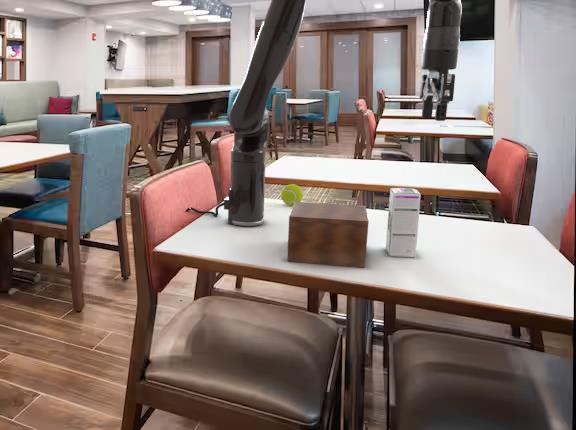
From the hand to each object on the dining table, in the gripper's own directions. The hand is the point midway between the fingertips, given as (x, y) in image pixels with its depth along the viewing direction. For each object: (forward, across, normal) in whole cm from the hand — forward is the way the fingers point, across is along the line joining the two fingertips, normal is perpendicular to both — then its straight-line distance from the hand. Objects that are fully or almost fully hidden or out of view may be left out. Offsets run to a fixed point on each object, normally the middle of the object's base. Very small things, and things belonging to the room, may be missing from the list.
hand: (433, 119), depth 129 cm
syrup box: (+29, +15, -10) cm, 34 cm away
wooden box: (+29, +16, -26) cm, 42 cm away
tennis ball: (+29, -33, -28) cm, 52 cm away
